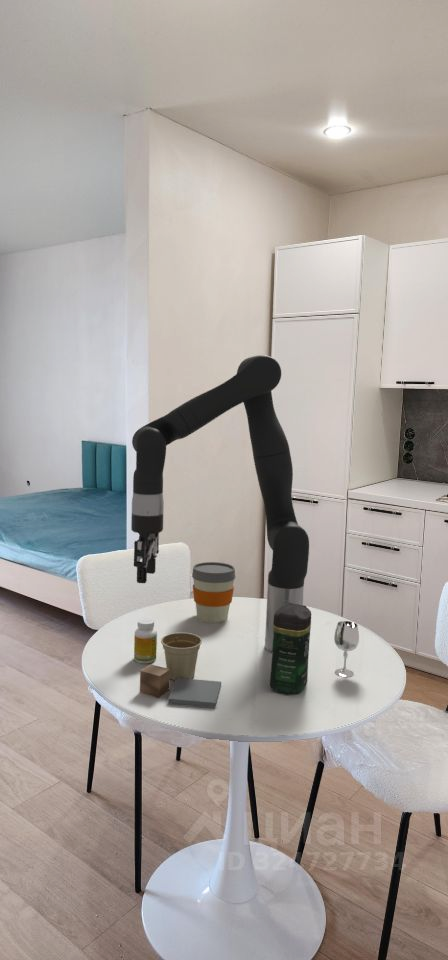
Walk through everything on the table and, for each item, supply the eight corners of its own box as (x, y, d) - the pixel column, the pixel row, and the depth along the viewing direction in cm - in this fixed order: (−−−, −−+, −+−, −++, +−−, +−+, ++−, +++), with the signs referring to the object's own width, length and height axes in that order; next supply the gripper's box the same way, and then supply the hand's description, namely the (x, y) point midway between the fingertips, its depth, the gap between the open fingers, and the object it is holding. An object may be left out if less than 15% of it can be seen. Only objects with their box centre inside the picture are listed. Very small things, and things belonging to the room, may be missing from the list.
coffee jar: (300, 699, 137) (305, 616, 134) (265, 692, 139) (269, 611, 137) (311, 681, 146) (315, 603, 143) (277, 675, 148) (281, 598, 146)
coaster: (221, 686, 141) (221, 681, 141) (215, 708, 131) (215, 702, 131) (177, 682, 142) (177, 677, 142) (168, 703, 133) (168, 698, 132)
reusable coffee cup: (240, 614, 189) (242, 565, 187) (222, 627, 177) (225, 575, 175) (202, 607, 194) (204, 559, 192) (183, 620, 182) (184, 569, 180)
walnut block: (169, 690, 139) (169, 669, 138) (159, 698, 135) (159, 676, 134) (150, 685, 141) (150, 664, 140) (139, 692, 137) (140, 670, 137)
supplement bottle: (154, 664, 152) (155, 625, 150) (132, 663, 152) (133, 624, 150) (157, 655, 157) (158, 617, 156) (135, 654, 157) (136, 616, 156)
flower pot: (169, 688, 140) (170, 650, 139) (153, 671, 148) (154, 635, 147) (207, 680, 144) (209, 644, 143) (190, 664, 152) (191, 630, 151)
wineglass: (358, 670, 153) (361, 622, 151) (354, 679, 147) (358, 630, 146) (334, 666, 155) (337, 618, 153) (330, 675, 149) (333, 626, 148)
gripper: (155, 518, 143) (154, 587, 145) (169, 507, 157) (168, 571, 159) (123, 516, 144) (122, 585, 146) (140, 505, 158) (138, 569, 160)
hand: (146, 577), depth 153 cm, fingers open, 8 cm apart
